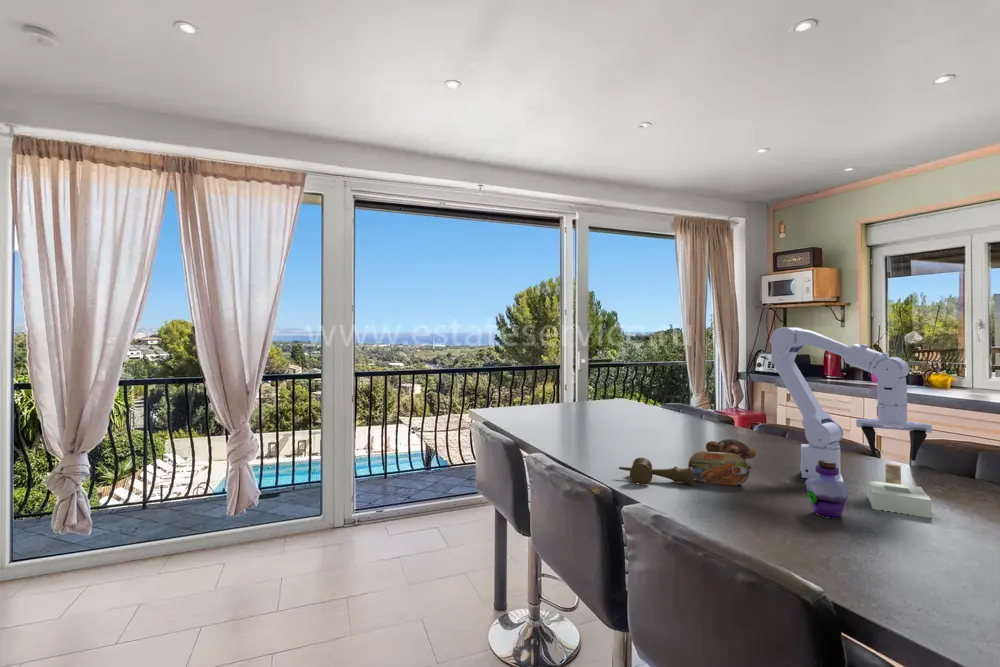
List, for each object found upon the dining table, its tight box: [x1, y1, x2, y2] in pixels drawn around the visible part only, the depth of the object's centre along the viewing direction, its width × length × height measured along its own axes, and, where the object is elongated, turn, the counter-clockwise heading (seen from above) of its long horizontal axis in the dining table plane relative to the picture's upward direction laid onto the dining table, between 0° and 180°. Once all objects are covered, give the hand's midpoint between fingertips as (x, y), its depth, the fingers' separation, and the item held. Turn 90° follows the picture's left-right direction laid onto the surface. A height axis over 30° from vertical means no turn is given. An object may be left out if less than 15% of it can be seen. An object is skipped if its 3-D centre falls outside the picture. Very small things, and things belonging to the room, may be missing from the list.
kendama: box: [618, 457, 695, 487], centre depth 127 cm, size 6×10×20 cm
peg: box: [884, 463, 902, 485], centre depth 117 cm, size 3×3×7 cm
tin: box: [688, 451, 750, 486], centre depth 126 cm, size 15×3×8 cm, turn 68°
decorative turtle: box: [705, 439, 757, 461], centre depth 142 cm, size 10×15×8 cm, turn 96°
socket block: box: [866, 479, 933, 519], centre depth 107 cm, size 10×10×4 cm
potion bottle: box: [804, 460, 851, 518], centre depth 103 cm, size 9×9×12 cm
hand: (892, 457), depth 117 cm, fingers open, 7 cm apart
